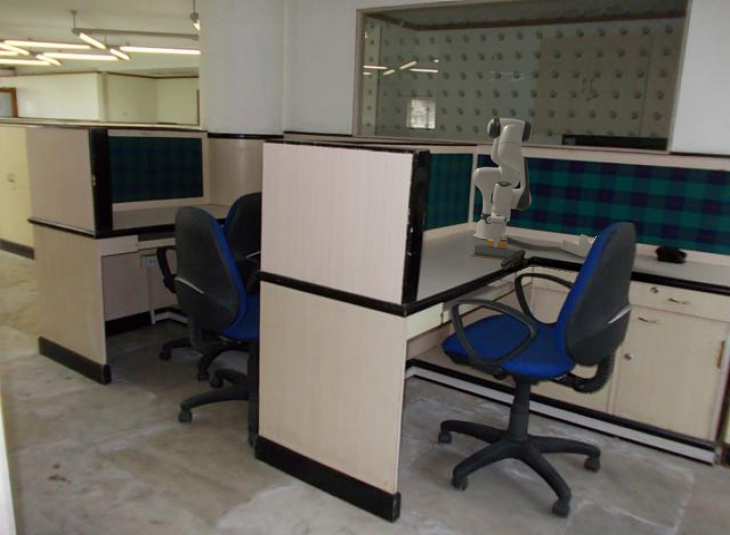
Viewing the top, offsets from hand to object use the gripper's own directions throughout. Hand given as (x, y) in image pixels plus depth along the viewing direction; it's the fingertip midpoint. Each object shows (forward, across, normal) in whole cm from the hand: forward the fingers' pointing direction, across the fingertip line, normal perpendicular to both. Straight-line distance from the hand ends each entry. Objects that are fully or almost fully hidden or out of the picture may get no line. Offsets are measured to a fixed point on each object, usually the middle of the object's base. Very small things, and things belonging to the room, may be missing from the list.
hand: (497, 245), depth 292 cm
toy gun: (+6, +21, +11) cm, 25 cm away
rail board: (+5, 0, 0) cm, 5 cm away
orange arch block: (+4, 0, 0) cm, 4 cm away
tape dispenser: (+6, -37, +36) cm, 52 cm away
